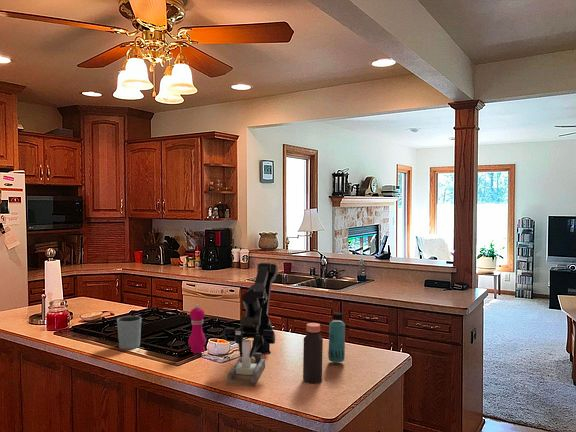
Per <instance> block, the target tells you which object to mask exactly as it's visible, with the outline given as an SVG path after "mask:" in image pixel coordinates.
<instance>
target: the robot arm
mask: <svg viewBox="0 0 576 432" xmlns="http://www.w3.org/2000/svg"><path fill="white" fill-rule="evenodd" d="M256 266H257V267H256V276H255V280H254V283H253V285H251V286H249V288H248V291H246V292H244V294H243V295H242V298H241V299H242V303H243V306H244V310H245V311H246V312H245V316H241V317H240V329H241V330H237V329H236V327H224V329H223V332H222V336H224V340H225V341H227V342H235V344H237V345H238V351H239V358H240V357H241V358H242V341H243V340H244V339H245V338H246V339H248V338H249V339H253V340H251V352H250V358H252V356H253V355H254V353H261V355H263V354H271V350H270V345H275V344H276V334H275V331H274V328H273V326H272V323H271V320H270V317H269V307H270V297H271V290H272V284H273V283H274V282H275V280H276V279H277V274H278V273H279V266H278V265H277V264H276V263H271V262H259V263H258V264H257V265H256Z"/></svg>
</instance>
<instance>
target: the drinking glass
mask: <svg viewBox="0 0 576 432" xmlns="http://www.w3.org/2000/svg"><path fill="white" fill-rule="evenodd" d="M142 319H143V318H142V316H139V315H126V316H121V317H118V318H116V327H117V335H118V337H117V340H118V347H119V349H121V350H133V349H134V350H135V349H137V347H138V348H139V347H140V346H141V337H142V336H141V335H142V334H141V331H142Z"/></svg>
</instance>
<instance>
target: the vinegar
mask: <svg viewBox="0 0 576 432" xmlns="http://www.w3.org/2000/svg"><path fill="white" fill-rule="evenodd" d="M305 331H306V333H307V334H306V335H305V336H304V337H303V353H302V354H303V355H302V357H303V359H302V362H303V363H302V380H303V381H304V382H305V383H306V384H311V385H312V384H314V385H315V384H319V383H321V382H322V381H323V353H324V352H323V346H324V342H323V341H324V340H323V339H324V338H323V337H322V336H321V335H320V333H321V324H320V323H317V322H309V323H306V330H305Z"/></svg>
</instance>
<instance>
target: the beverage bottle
mask: <svg viewBox="0 0 576 432" xmlns="http://www.w3.org/2000/svg"><path fill="white" fill-rule="evenodd" d="M343 318H344V317H343V313H342V312H338V311H335V312H332V318H331V319H332V321H330V323H329V324H328V325H329V328H328V329H329V330H328V350H327V351H328V352H327V357H328V361H330V362H332V363H342V362H344V361H345V359H346V358H345V353H346V339H345V338H346V337H345V336H346V324H345V322H344V321H342V320H343Z"/></svg>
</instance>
